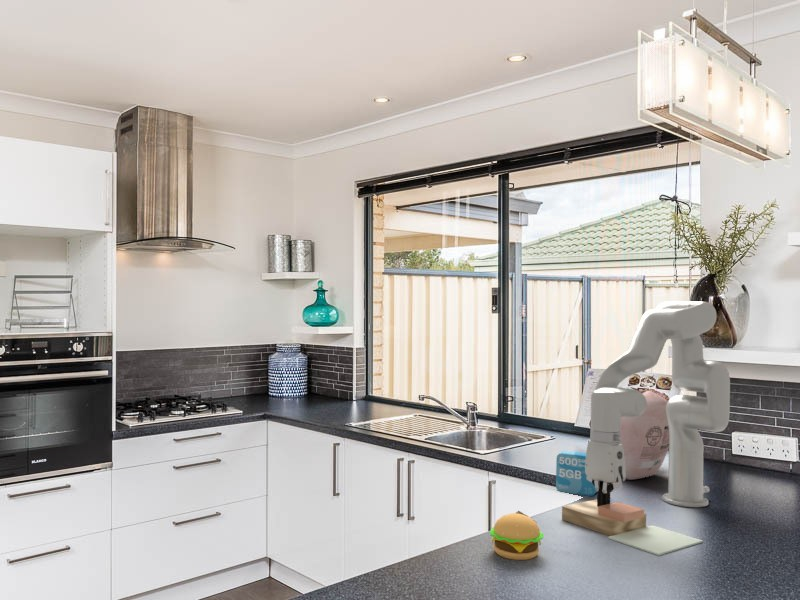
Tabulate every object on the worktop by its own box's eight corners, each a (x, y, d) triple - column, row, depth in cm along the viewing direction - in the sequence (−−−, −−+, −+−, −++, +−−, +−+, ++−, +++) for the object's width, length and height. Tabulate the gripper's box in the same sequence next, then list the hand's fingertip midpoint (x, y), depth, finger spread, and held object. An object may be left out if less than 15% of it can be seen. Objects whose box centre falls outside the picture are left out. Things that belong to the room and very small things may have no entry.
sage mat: (652, 526, 179) (652, 525, 179) (702, 542, 167) (702, 540, 167) (608, 538, 168) (608, 536, 168) (658, 555, 157) (658, 553, 157)
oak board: (596, 511, 191) (596, 499, 191) (646, 527, 178) (646, 513, 178) (561, 519, 183) (562, 506, 183) (611, 536, 170) (611, 522, 170)
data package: (555, 491, 212) (556, 452, 213) (558, 488, 216) (559, 450, 217) (595, 496, 207) (596, 457, 208) (597, 493, 211) (598, 454, 212)
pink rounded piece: (634, 468, 247) (636, 385, 248) (683, 480, 231) (685, 391, 232) (594, 475, 235) (596, 387, 236) (643, 488, 219) (645, 394, 219)
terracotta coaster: (617, 509, 181) (617, 501, 181) (643, 517, 175) (644, 509, 175) (598, 514, 177) (598, 506, 177) (624, 522, 170) (624, 514, 170)
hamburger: (511, 540, 165) (512, 504, 165) (553, 554, 156) (554, 516, 156) (478, 551, 157) (479, 513, 157) (521, 567, 148) (522, 526, 148)
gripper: (638, 440, 177) (636, 512, 177) (591, 431, 189) (590, 498, 189) (619, 443, 173) (617, 516, 172) (573, 433, 185) (571, 502, 185)
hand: (603, 506), depth 181 cm, fingers closed
